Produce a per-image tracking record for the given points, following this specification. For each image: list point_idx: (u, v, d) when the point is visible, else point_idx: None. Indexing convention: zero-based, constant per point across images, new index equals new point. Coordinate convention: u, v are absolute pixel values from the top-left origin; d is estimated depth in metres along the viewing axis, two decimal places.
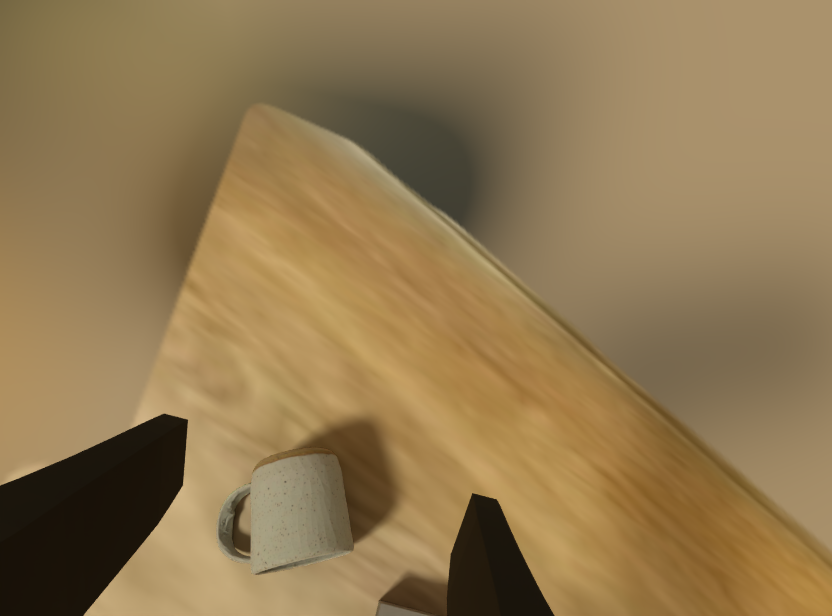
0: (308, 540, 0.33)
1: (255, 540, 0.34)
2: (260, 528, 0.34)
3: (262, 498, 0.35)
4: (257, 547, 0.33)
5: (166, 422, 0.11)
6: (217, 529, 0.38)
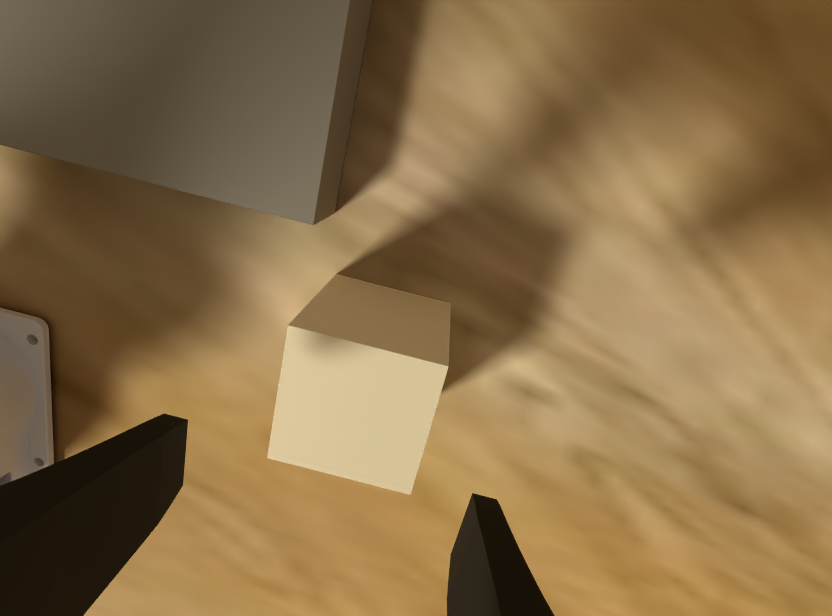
0: None
1: None
2: None
3: None
4: None
5: (166, 422, 0.11)
6: None
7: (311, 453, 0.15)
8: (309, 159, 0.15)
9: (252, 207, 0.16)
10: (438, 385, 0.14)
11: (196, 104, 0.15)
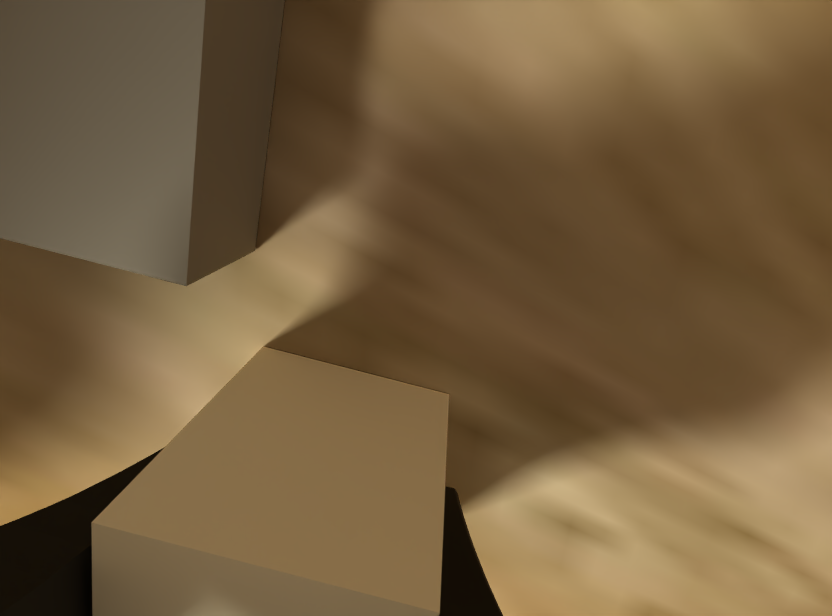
0: None
1: None
2: None
3: None
4: None
5: None
6: None
7: None
8: (167, 162, 0.08)
9: (71, 253, 0.08)
10: None
11: None
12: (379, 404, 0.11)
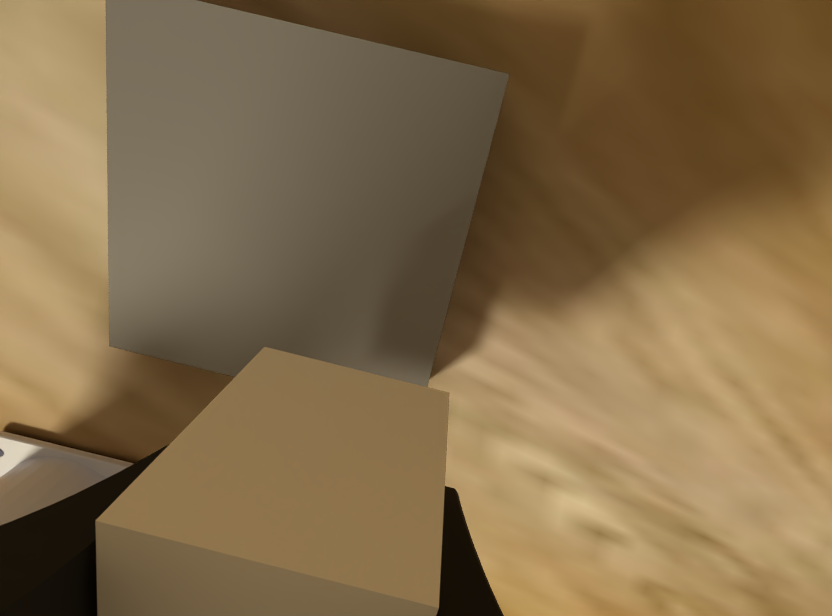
0: None
1: None
2: None
3: None
4: None
5: None
6: None
7: None
8: (418, 370, 0.17)
9: None
10: None
11: (316, 325, 0.16)
12: (379, 403, 0.11)
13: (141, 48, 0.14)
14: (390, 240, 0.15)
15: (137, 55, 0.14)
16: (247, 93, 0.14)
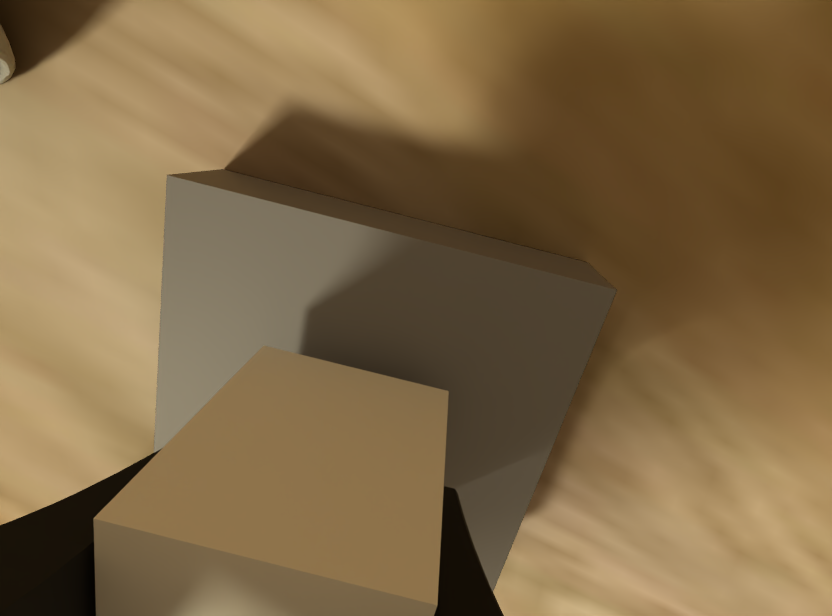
0: None
1: None
2: None
3: None
4: None
5: None
6: None
7: None
8: (489, 563, 0.15)
9: None
10: None
11: None
12: (379, 401, 0.11)
13: (203, 244, 0.13)
14: (469, 441, 0.14)
15: (198, 251, 0.13)
16: (319, 293, 0.13)
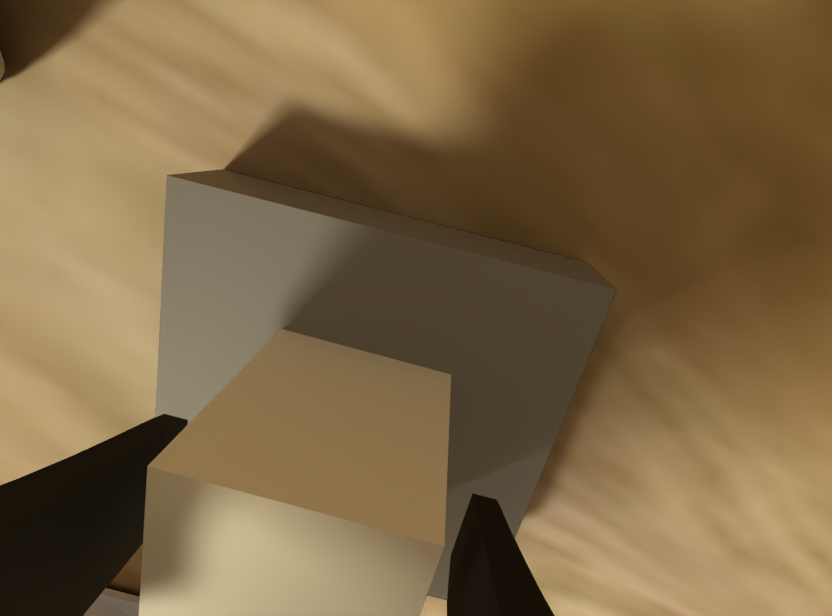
0: None
1: None
2: None
3: None
4: None
5: (166, 421, 0.11)
6: None
7: None
8: None
9: None
10: (425, 576, 0.08)
11: None
12: (388, 381, 0.12)
13: (202, 244, 0.13)
14: (469, 441, 0.14)
15: (198, 251, 0.13)
16: (319, 293, 0.13)
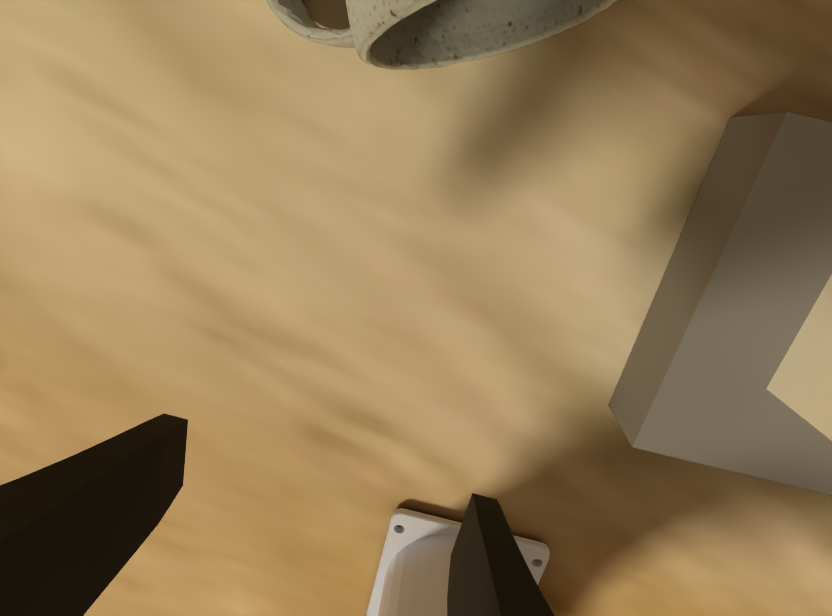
0: None
1: None
2: None
3: None
4: None
5: (167, 422, 0.11)
6: None
7: None
8: None
9: None
10: None
11: None
12: None
13: (796, 176, 0.14)
14: None
15: (789, 182, 0.14)
16: None
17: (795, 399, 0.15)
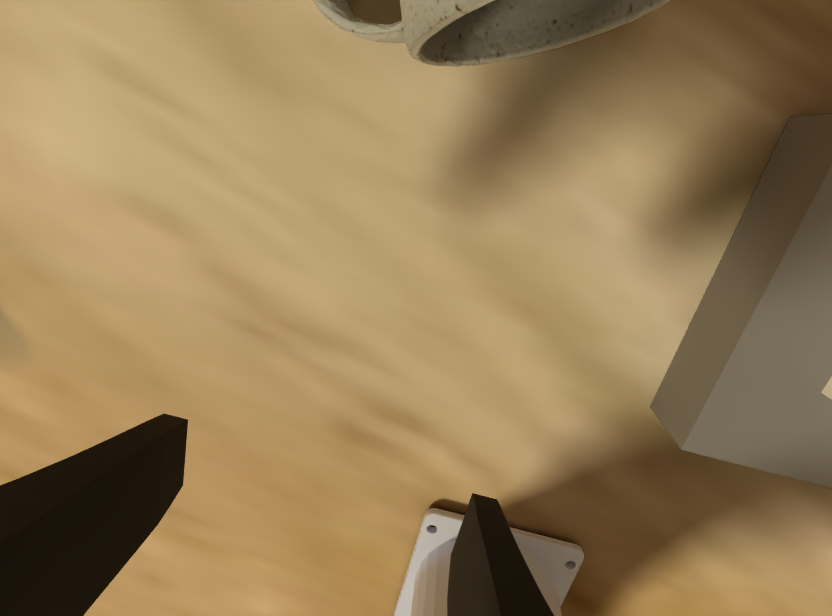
0: None
1: None
2: None
3: None
4: None
5: (166, 422, 0.11)
6: None
7: None
8: None
9: None
10: None
11: None
12: None
13: None
14: None
15: None
16: None
17: None
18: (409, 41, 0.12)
